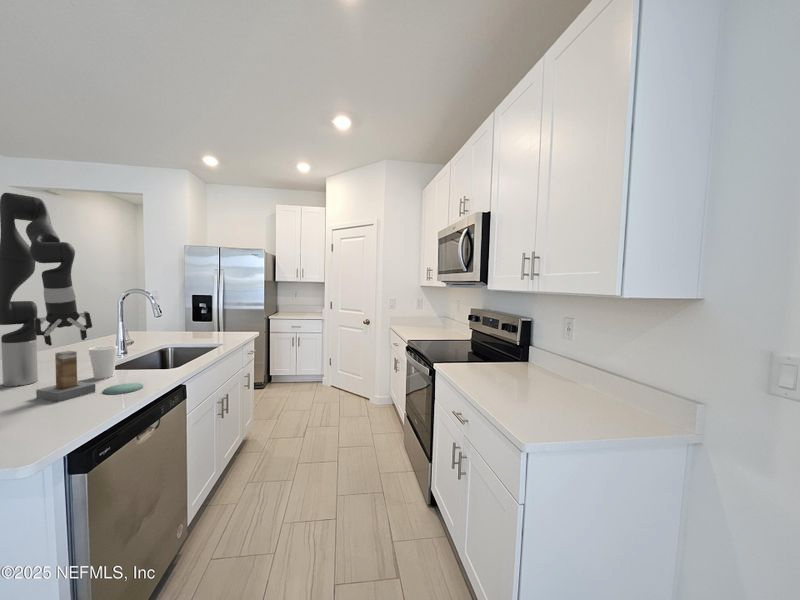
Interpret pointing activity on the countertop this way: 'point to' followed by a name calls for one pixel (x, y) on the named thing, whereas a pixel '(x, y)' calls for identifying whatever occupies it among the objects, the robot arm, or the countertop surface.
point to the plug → (66, 369)
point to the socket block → (65, 392)
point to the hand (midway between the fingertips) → (66, 342)
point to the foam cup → (103, 360)
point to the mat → (123, 388)
